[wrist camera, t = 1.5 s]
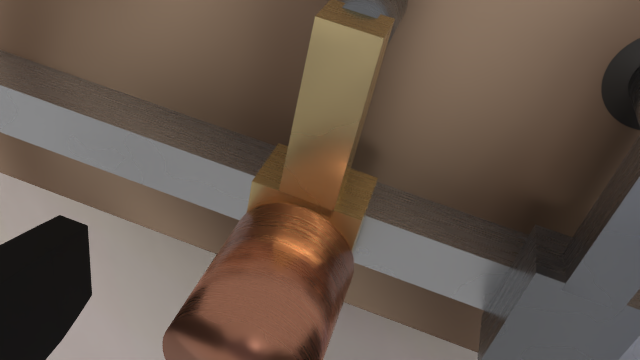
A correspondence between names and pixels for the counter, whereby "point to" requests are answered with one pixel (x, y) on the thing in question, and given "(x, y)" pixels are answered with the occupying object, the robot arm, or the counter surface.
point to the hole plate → (382, 117)
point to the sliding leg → (297, 209)
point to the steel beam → (246, 178)
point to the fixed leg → (575, 280)
